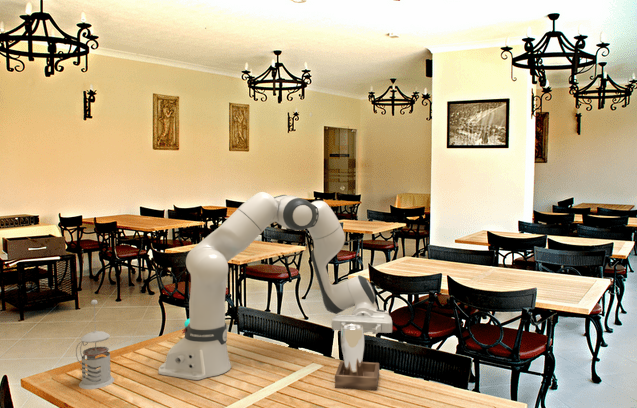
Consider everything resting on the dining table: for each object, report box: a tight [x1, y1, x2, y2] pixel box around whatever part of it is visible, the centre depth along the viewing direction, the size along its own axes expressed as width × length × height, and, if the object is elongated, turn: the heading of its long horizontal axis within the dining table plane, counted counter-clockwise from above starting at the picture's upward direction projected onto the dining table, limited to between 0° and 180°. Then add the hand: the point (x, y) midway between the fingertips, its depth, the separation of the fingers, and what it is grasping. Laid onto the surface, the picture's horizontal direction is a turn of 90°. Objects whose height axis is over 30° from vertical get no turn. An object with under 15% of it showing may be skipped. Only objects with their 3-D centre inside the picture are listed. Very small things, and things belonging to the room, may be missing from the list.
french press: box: [75, 299, 115, 390], centre depth 149 cm, size 10×12×25 cm
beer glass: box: [340, 324, 365, 376], centre depth 148 cm, size 7×7×15 cm
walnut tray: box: [334, 360, 380, 392], centre depth 148 cm, size 12×12×4 cm
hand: (359, 330), depth 160 cm, fingers open, 8 cm apart
